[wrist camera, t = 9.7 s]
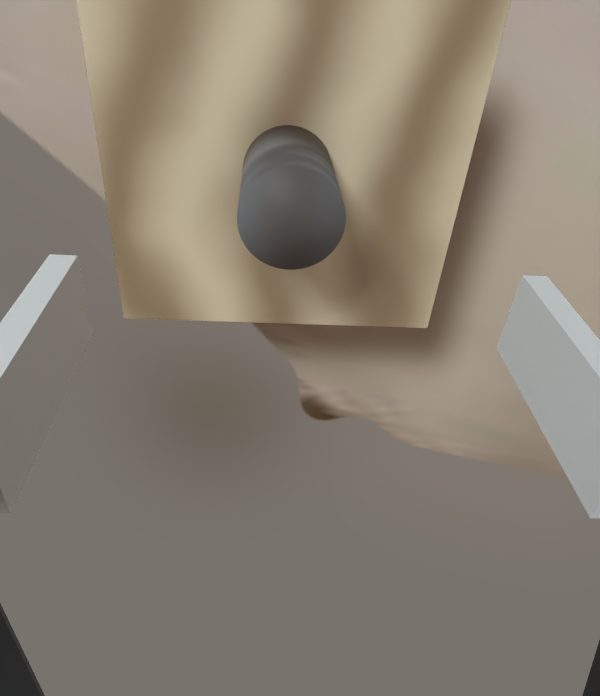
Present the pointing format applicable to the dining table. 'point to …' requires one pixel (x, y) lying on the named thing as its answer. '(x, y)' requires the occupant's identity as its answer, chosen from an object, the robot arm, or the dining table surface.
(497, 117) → the dining table surface
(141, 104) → the oak lid
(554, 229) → the dining table surface
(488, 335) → the dining table surface
